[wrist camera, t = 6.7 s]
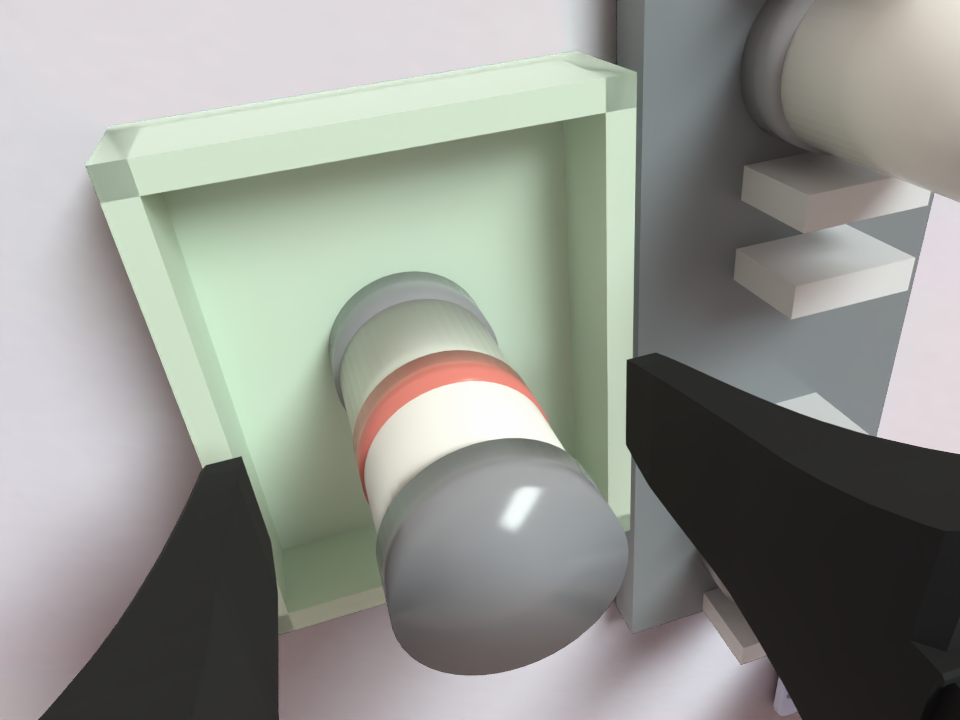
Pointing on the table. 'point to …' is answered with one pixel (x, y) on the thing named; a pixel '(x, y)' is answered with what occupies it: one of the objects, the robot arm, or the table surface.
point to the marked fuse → (467, 484)
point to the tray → (379, 273)
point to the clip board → (748, 271)
